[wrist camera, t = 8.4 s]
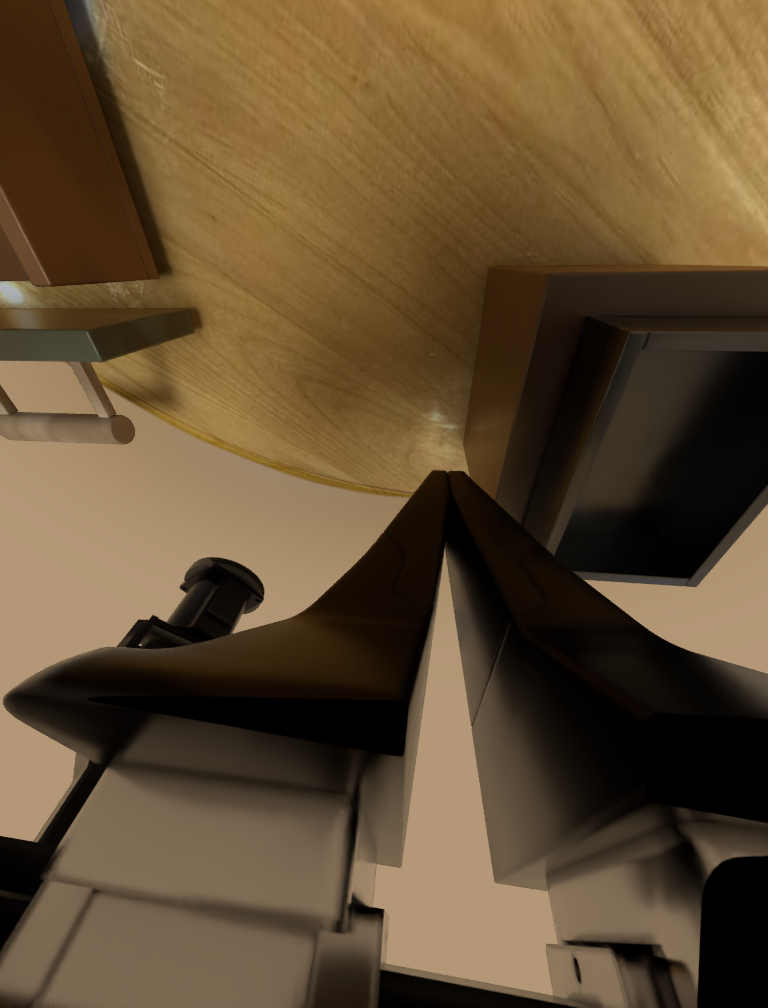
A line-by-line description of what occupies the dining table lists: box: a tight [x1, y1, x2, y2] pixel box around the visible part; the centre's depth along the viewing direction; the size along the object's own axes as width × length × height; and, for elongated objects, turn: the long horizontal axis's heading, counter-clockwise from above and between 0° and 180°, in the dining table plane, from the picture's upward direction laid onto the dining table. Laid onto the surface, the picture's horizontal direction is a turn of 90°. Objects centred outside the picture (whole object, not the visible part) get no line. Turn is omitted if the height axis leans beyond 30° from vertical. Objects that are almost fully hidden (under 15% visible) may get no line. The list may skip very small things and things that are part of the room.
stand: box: [463, 264, 768, 525], centre depth 15 cm, size 10×8×10 cm
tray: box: [521, 316, 768, 587], centre depth 10 cm, size 8×6×2 cm
